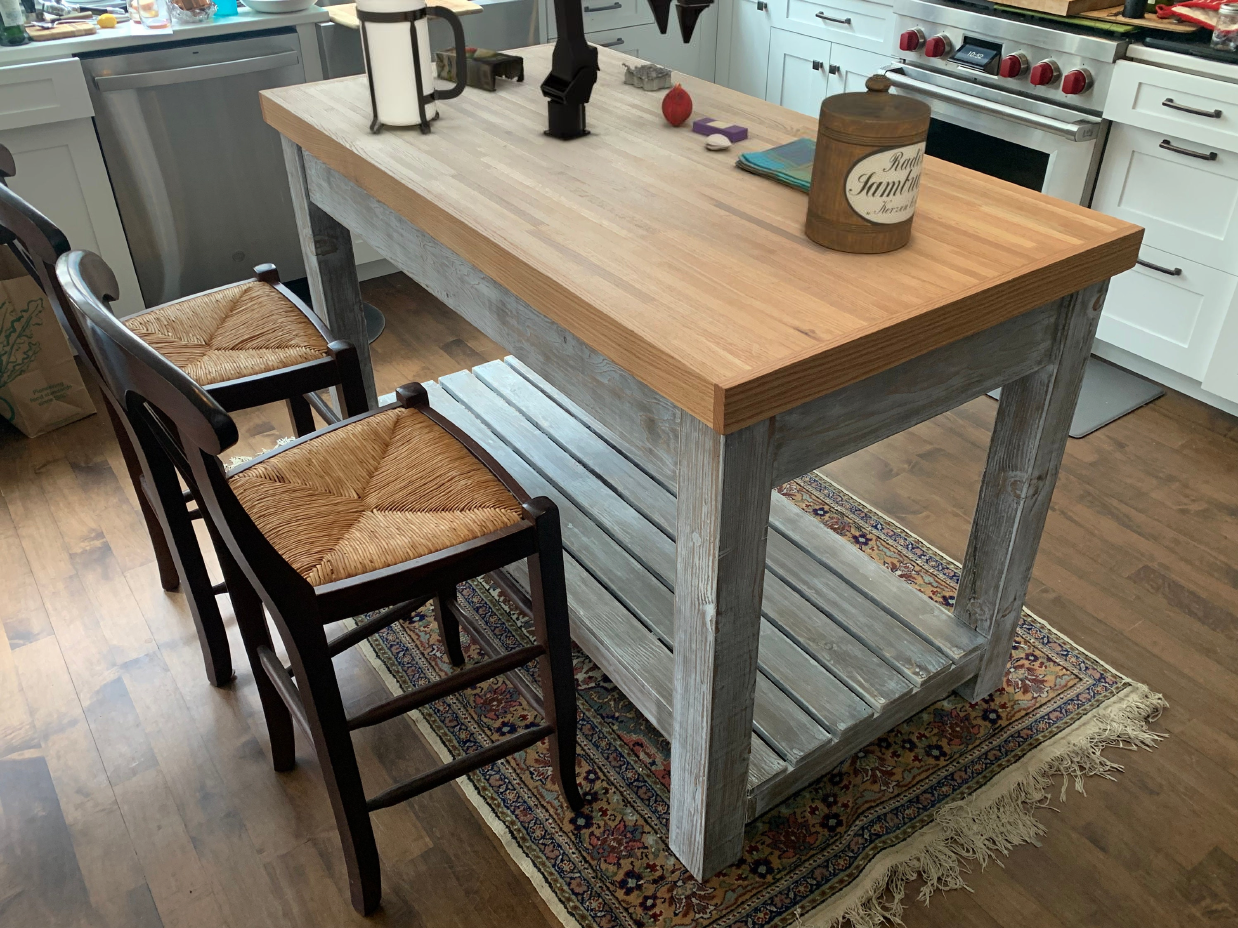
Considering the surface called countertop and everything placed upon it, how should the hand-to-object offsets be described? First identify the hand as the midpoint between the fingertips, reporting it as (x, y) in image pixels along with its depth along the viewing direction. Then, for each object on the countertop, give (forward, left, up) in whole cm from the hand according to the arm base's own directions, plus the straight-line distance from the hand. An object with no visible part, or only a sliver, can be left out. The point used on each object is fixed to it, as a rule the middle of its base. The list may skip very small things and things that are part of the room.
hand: (674, 38), depth 186 cm
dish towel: (-10, -43, -14) cm, 46 cm away
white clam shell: (-11, -22, -14) cm, 28 cm away
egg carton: (+13, +19, -14) cm, 27 cm away
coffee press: (-41, +29, -14) cm, 52 cm away
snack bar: (-4, -16, -14) cm, 21 cm away
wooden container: (-27, -62, -14) cm, 69 cm away
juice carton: (-11, +47, -14) cm, 50 cm away
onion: (-6, -7, -14) cm, 17 cm away
